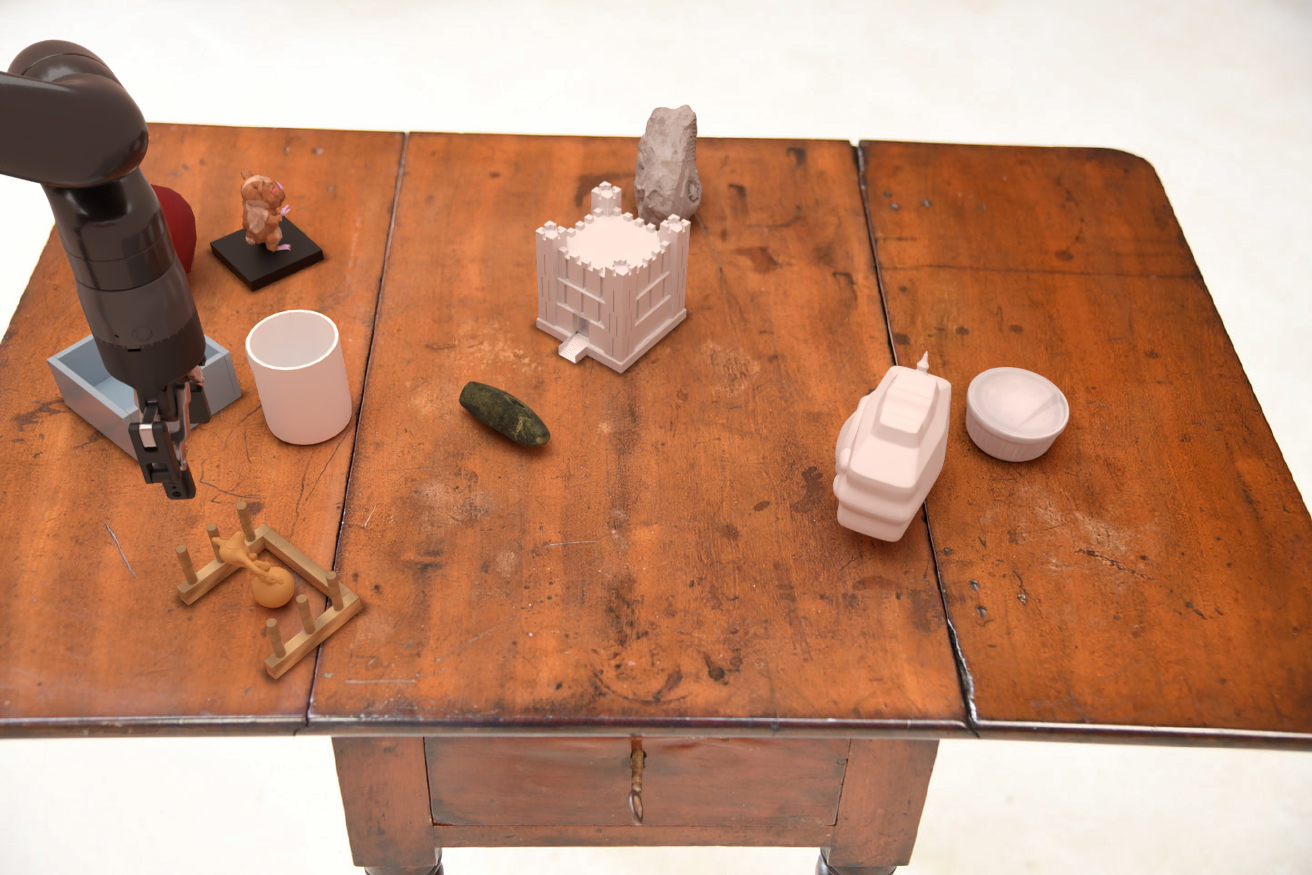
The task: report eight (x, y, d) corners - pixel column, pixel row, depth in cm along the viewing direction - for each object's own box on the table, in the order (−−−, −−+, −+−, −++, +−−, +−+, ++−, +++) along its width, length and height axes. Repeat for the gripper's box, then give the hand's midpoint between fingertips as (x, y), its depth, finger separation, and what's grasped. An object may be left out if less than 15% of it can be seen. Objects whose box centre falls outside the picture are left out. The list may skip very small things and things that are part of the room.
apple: (216, 250, 161) (193, 161, 151) (200, 310, 153) (174, 220, 143) (119, 252, 160) (89, 162, 150) (98, 312, 152) (64, 222, 142)
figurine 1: (324, 259, 160) (309, 179, 152) (253, 291, 155) (233, 211, 147) (282, 221, 165) (265, 143, 157) (212, 252, 160) (190, 172, 152)
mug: (333, 455, 137) (316, 377, 129) (230, 434, 139) (207, 355, 130) (366, 396, 144) (352, 318, 135) (268, 377, 145) (248, 298, 137)
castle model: (685, 317, 155) (693, 222, 145) (610, 383, 147) (611, 286, 136) (603, 274, 160) (604, 179, 150) (525, 335, 152) (520, 239, 141)
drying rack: (276, 679, 117) (261, 636, 112) (180, 599, 123) (163, 554, 118) (362, 609, 123) (352, 564, 118) (267, 535, 129) (254, 490, 124)
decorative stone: (558, 412, 143) (558, 380, 139) (548, 462, 138) (547, 430, 134) (462, 403, 143) (458, 371, 140) (448, 452, 138) (444, 420, 134)
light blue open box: (139, 463, 135) (122, 418, 130) (65, 404, 141) (46, 359, 136) (242, 396, 143) (229, 351, 138) (167, 342, 149) (153, 298, 144)
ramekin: (1056, 479, 139) (1069, 446, 135) (954, 459, 140) (964, 426, 136) (1058, 409, 146) (1070, 376, 143) (961, 391, 148) (971, 358, 144)
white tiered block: (947, 458, 140) (979, 352, 129) (906, 576, 129) (937, 471, 117) (852, 429, 143) (875, 322, 131) (803, 542, 131) (824, 435, 120)
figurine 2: (321, 607, 123) (301, 529, 115) (274, 648, 120) (250, 570, 111) (263, 565, 126) (239, 486, 118) (216, 604, 123) (187, 525, 114)
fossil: (692, 247, 162) (706, 130, 154) (619, 237, 162) (630, 120, 155) (704, 210, 176) (717, 101, 169) (637, 200, 176) (647, 92, 169)
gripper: (107, 250, 98) (159, 399, 110) (66, 377, 88) (128, 526, 100) (206, 247, 99) (247, 396, 110) (177, 372, 89) (226, 521, 101)
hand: (191, 457), depth 105 cm, fingers open, 8 cm apart
